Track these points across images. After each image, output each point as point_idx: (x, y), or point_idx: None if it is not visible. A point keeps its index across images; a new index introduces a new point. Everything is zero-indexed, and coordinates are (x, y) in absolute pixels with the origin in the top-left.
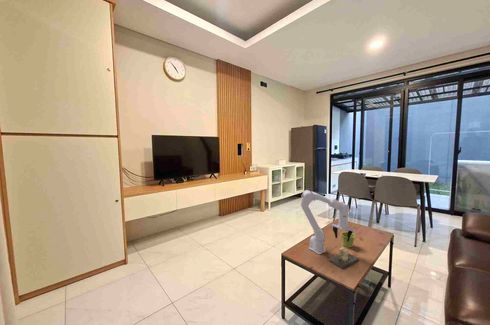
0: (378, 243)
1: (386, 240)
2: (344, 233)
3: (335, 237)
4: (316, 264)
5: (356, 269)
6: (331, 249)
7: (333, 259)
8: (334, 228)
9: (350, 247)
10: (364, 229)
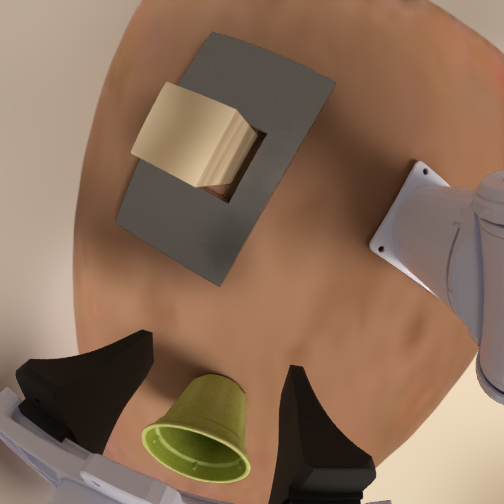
0: None
1: None
2: (230, 472)
3: (305, 373)
4: (394, 22)
5: (133, 93)
6: (329, 301)
7: (294, 90)
8: (333, 496)
9: (195, 378)
10: None
